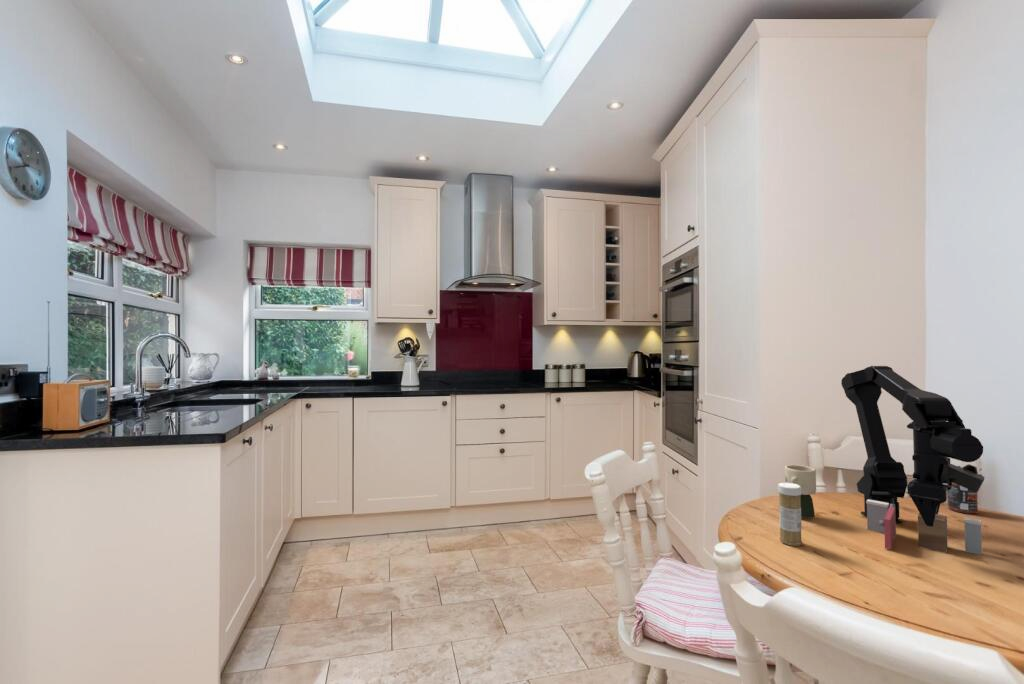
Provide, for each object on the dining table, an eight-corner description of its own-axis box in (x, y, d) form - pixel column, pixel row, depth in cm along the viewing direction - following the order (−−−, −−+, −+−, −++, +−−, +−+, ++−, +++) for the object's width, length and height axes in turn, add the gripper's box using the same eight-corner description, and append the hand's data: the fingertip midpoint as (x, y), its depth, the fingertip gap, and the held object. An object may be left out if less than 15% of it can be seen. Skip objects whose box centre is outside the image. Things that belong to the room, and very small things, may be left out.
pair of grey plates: (866, 529, 115) (866, 500, 115) (868, 527, 116) (867, 498, 116) (982, 555, 100) (981, 522, 100) (982, 552, 101) (981, 519, 101)
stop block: (945, 553, 101) (944, 521, 101) (918, 546, 105) (917, 515, 105) (947, 547, 104) (946, 515, 104) (921, 541, 108) (920, 510, 108)
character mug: (794, 508, 130) (793, 462, 131) (823, 515, 125) (822, 467, 125) (778, 517, 123) (777, 468, 124) (808, 525, 118) (807, 474, 118)
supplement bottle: (972, 516, 123) (971, 473, 123) (943, 509, 128) (942, 468, 129) (981, 512, 126) (980, 470, 126) (953, 505, 131) (952, 465, 131)
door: (884, 532, 112) (884, 505, 112) (895, 534, 111) (894, 507, 111) (879, 546, 104) (878, 517, 104) (890, 549, 103) (890, 520, 103)
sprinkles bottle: (789, 537, 110) (787, 481, 111) (807, 545, 106) (805, 486, 106) (774, 540, 109) (773, 483, 109) (792, 548, 104) (791, 488, 105)
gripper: (978, 465, 93) (980, 543, 92) (982, 450, 105) (984, 519, 105) (906, 456, 101) (908, 528, 100) (917, 443, 113) (919, 507, 113)
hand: (932, 520), depth 105 cm, fingers open, 9 cm apart
